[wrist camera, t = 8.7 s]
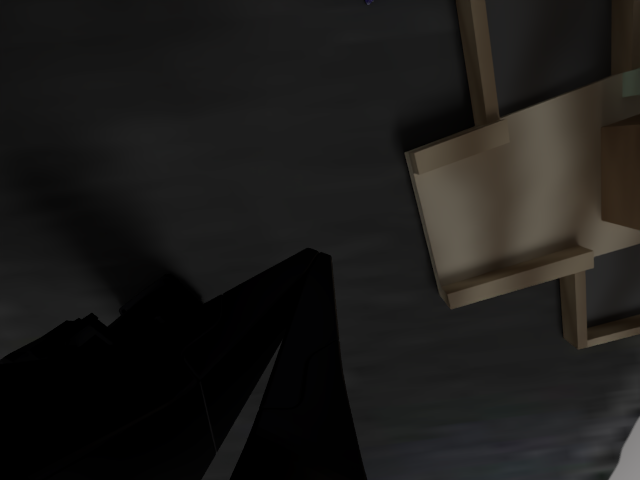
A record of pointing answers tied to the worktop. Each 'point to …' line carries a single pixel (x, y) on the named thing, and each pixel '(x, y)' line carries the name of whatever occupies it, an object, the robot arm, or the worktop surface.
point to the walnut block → (621, 173)
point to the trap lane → (537, 163)
